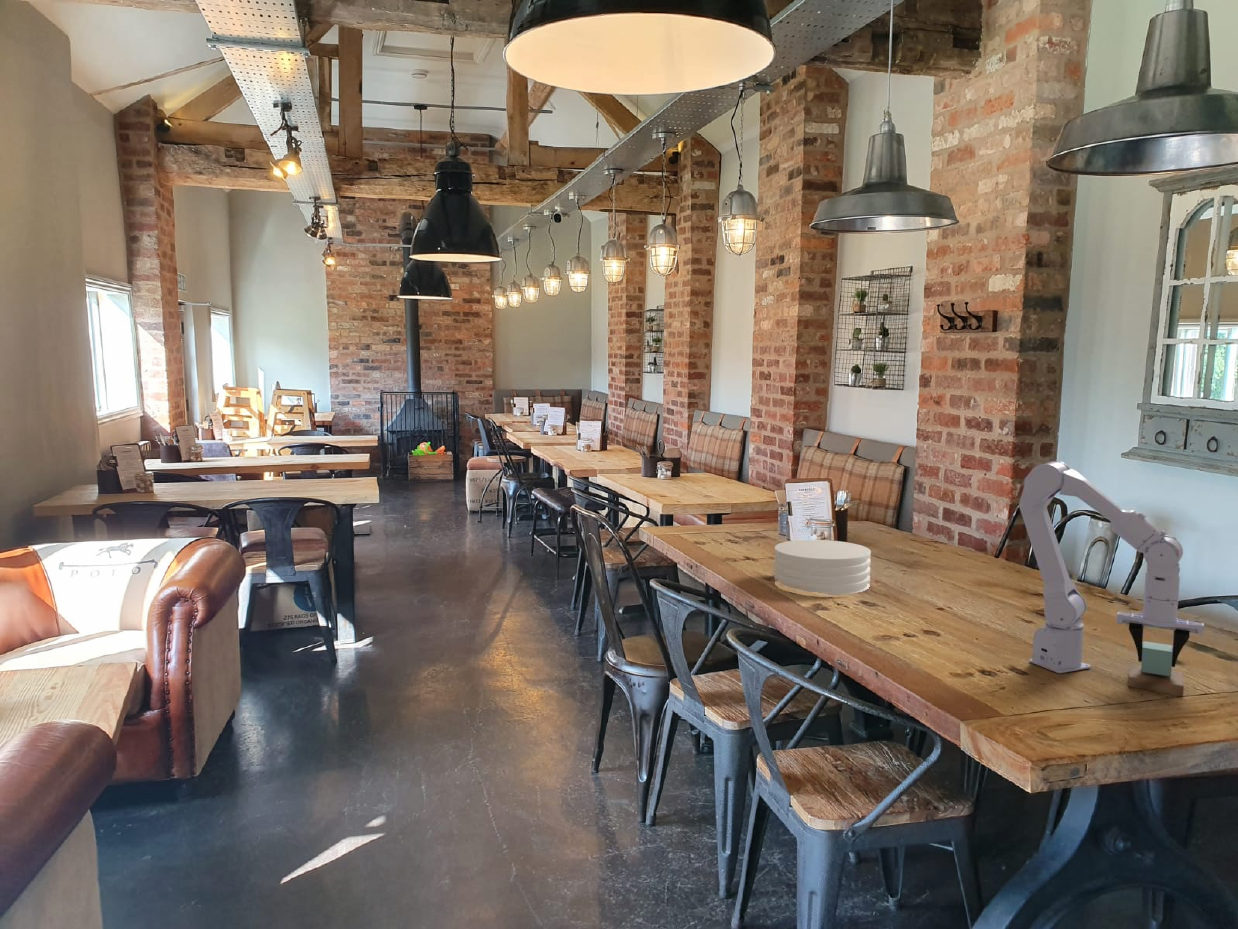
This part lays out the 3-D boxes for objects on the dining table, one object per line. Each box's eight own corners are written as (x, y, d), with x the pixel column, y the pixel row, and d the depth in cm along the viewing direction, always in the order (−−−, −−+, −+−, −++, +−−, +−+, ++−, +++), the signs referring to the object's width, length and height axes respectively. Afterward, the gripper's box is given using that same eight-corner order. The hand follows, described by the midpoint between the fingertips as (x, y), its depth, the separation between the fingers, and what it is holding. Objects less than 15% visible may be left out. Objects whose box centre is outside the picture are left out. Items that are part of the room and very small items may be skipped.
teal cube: (1141, 671, 163) (1142, 647, 163) (1141, 664, 168) (1142, 641, 167) (1170, 676, 161) (1172, 652, 160) (1170, 669, 165) (1172, 645, 164)
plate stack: (834, 604, 224) (835, 563, 223) (755, 585, 245) (755, 548, 244) (888, 587, 243) (889, 549, 241) (810, 570, 264) (810, 536, 262)
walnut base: (1128, 686, 163) (1129, 676, 163) (1129, 673, 170) (1130, 663, 170) (1182, 695, 158) (1183, 686, 158) (1181, 681, 165) (1182, 672, 165)
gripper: (1204, 598, 161) (1199, 663, 163) (1119, 588, 169) (1115, 651, 171) (1206, 606, 156) (1201, 674, 157) (1117, 595, 164) (1114, 660, 165)
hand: (1156, 663), depth 164 cm, fingers closed on teal cube, 5 cm apart
